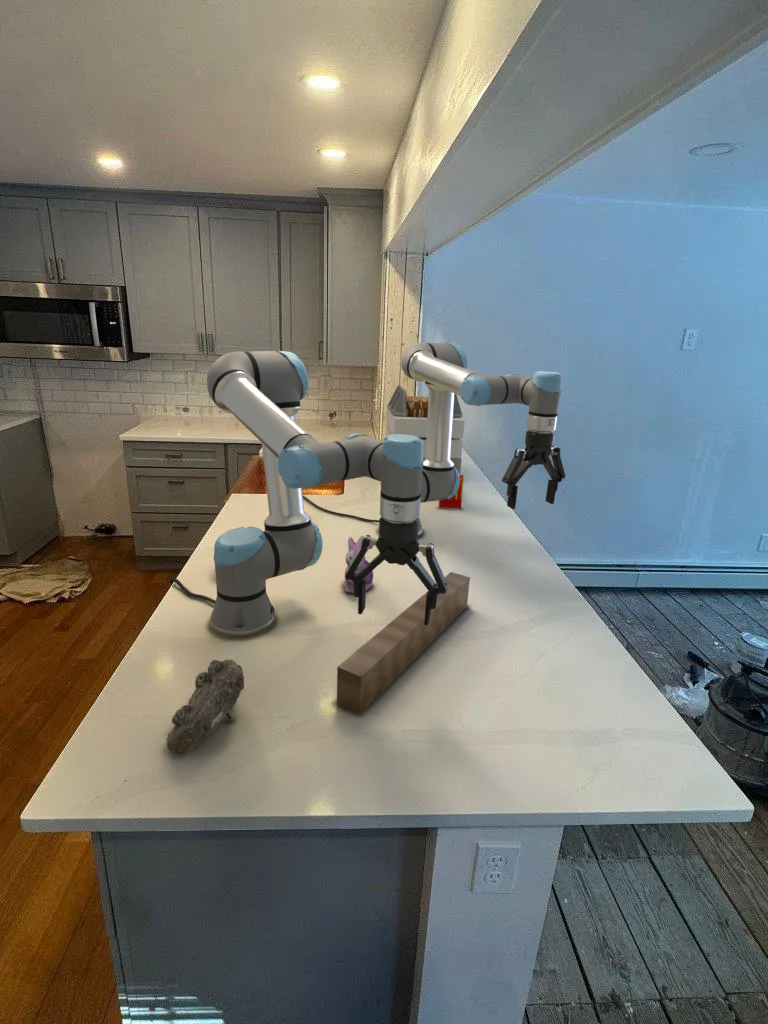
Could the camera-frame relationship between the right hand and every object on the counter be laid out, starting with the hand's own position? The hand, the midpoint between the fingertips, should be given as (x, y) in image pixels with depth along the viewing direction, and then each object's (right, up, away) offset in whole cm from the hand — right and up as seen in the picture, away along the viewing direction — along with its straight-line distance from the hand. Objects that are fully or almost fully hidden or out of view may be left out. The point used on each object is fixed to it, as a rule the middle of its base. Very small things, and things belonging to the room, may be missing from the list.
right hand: (530, 505), depth 160 cm
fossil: (-74, -41, -52) cm, 100 cm away
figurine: (-49, -23, 0) cm, 54 cm away
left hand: (-39, -23, -46) cm, 65 cm away
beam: (-35, -34, -27) cm, 56 cm away
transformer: (-24, +17, +115) cm, 118 cm away
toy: (-15, +4, +80) cm, 81 cm away
